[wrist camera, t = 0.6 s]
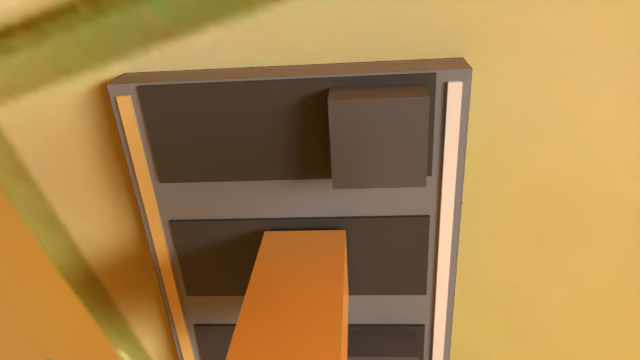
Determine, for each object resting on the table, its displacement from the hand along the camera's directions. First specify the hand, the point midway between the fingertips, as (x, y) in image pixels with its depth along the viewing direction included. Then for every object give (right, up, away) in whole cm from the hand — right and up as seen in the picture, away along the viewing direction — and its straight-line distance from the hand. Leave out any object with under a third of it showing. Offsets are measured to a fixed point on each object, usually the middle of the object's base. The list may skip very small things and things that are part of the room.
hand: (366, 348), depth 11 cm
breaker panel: (-2, +1, +17) cm, 17 cm away
